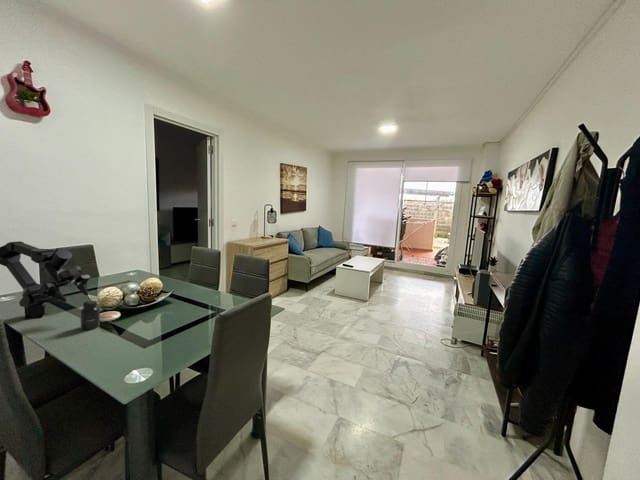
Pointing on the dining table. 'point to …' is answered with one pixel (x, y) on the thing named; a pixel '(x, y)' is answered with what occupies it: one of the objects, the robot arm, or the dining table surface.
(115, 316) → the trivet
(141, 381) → the dining table surface
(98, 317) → the supplement bottle
